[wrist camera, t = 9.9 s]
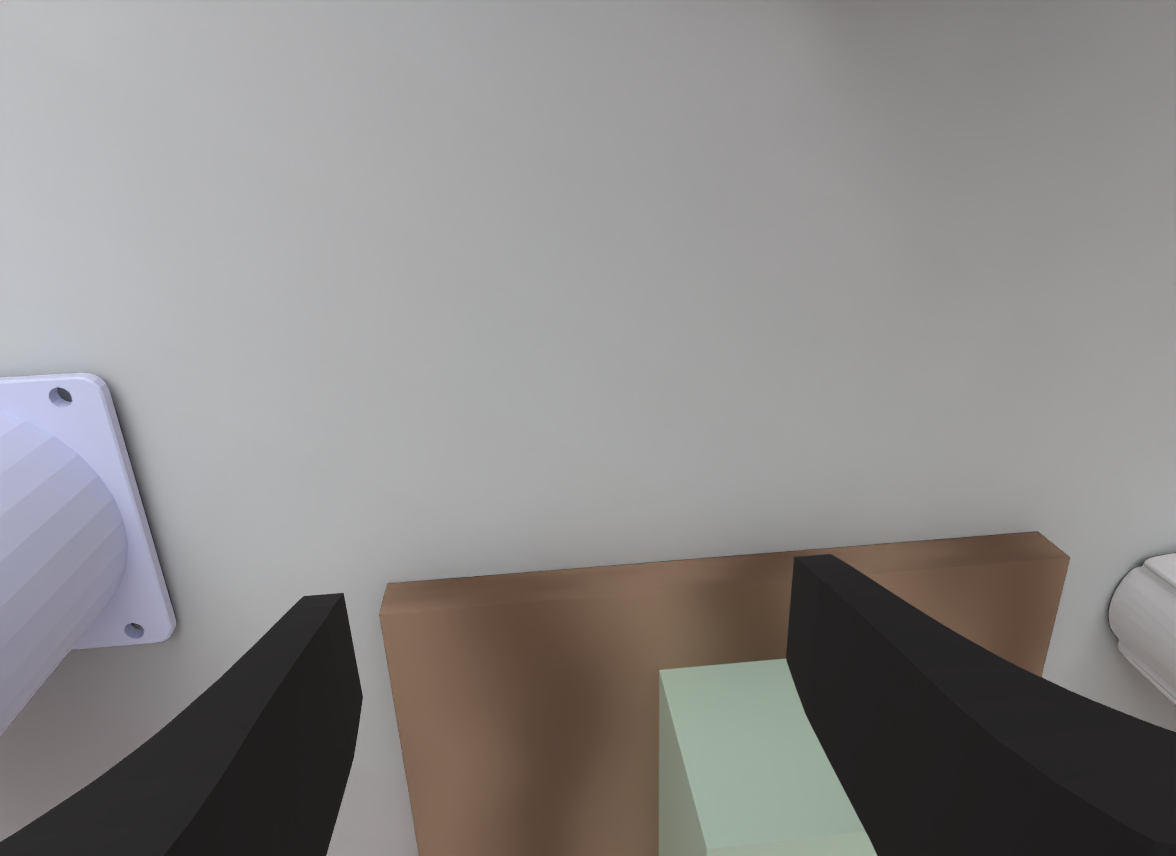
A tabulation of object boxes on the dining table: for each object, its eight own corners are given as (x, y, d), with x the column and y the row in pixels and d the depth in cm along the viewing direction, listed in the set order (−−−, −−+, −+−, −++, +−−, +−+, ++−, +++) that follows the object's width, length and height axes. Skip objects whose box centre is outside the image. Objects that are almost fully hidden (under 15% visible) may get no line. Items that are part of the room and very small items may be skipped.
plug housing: (658, 860, 26) (698, 1064, 20) (659, 670, 23) (706, 848, 17) (786, 847, 26) (860, 1043, 21) (804, 656, 23) (896, 828, 18)
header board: (438, 909, 28) (427, 1031, 24) (387, 583, 23) (363, 675, 19) (967, 851, 29) (1033, 956, 26) (1038, 531, 24) (1133, 608, 20)
